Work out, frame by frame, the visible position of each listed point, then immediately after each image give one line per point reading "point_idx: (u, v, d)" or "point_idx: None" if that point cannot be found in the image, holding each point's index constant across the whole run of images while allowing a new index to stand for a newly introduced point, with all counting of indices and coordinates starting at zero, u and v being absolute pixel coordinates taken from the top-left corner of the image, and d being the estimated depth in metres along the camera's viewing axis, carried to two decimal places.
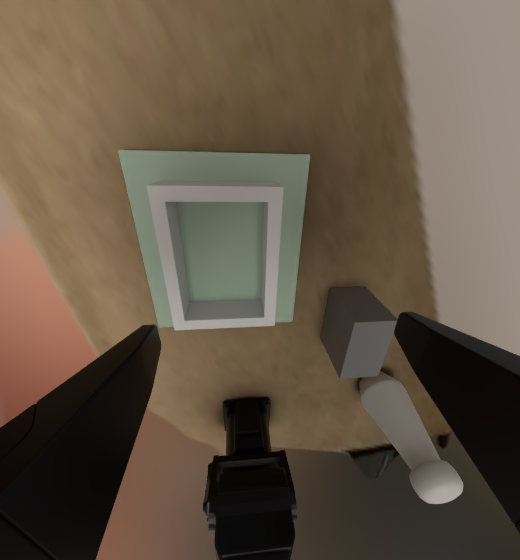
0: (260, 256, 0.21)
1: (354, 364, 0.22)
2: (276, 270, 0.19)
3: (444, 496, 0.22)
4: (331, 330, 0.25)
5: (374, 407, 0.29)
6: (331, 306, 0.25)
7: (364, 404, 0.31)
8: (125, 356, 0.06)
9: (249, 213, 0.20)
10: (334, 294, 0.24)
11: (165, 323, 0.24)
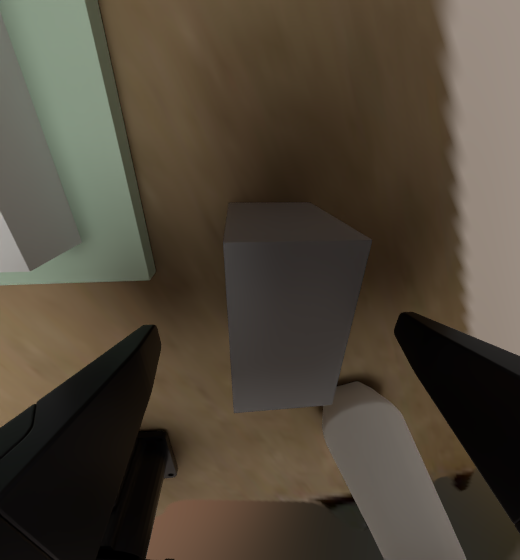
0: None
1: (263, 377, 0.08)
2: None
3: None
4: None
5: (342, 455, 0.15)
6: None
7: (328, 445, 0.17)
8: (125, 356, 0.06)
9: None
10: (228, 209, 0.10)
11: None
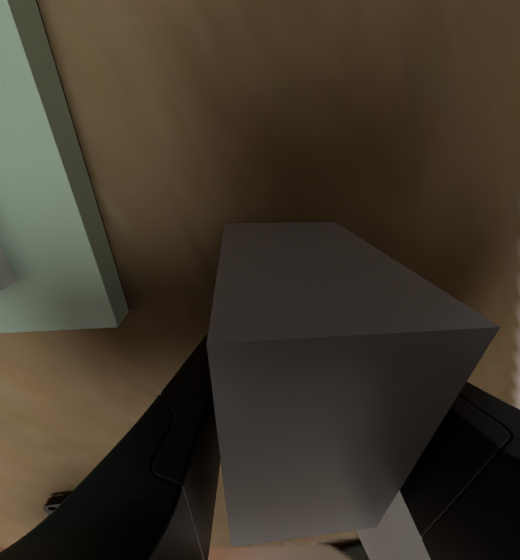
0: None
1: (277, 510, 0.05)
2: None
3: None
4: None
5: (369, 534, 0.12)
6: None
7: None
8: None
9: None
10: (224, 236, 0.07)
11: None
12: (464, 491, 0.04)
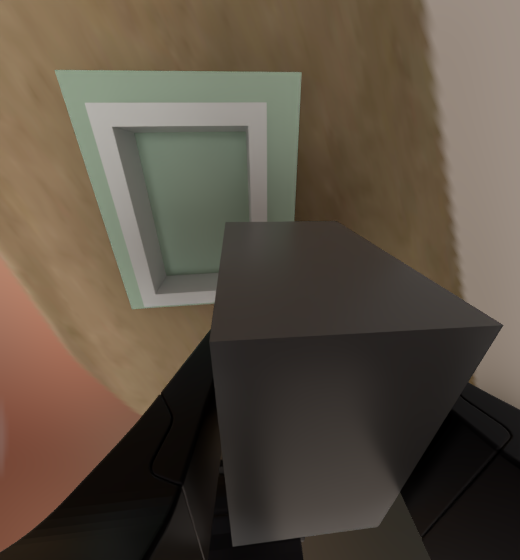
0: (247, 214, 0.18)
1: (279, 509, 0.05)
2: None
3: None
4: None
5: None
6: None
7: None
8: None
9: (229, 156, 0.16)
10: None
11: (139, 303, 0.20)
12: (464, 491, 0.04)
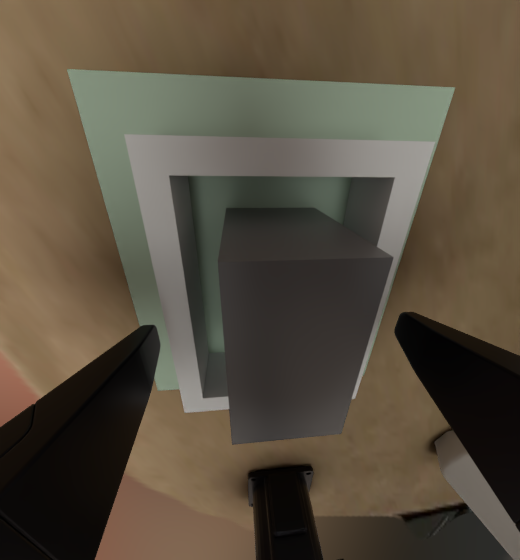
0: None
1: (265, 407, 0.07)
2: (378, 312, 0.10)
3: None
4: None
5: (472, 491, 0.20)
6: None
7: (450, 480, 0.22)
8: (124, 356, 0.06)
9: (321, 205, 0.11)
10: (226, 216, 0.09)
11: (168, 384, 0.15)
12: None
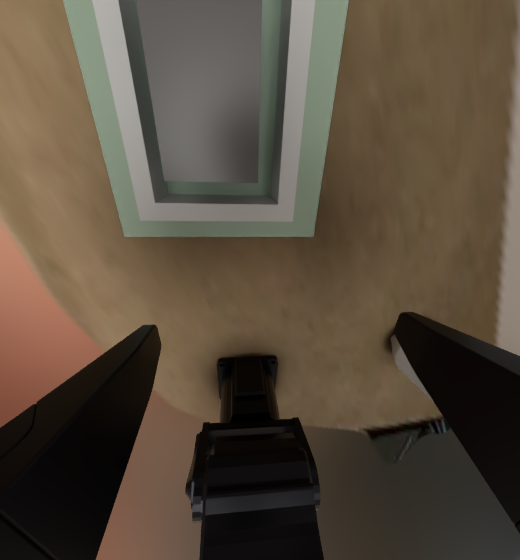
0: (272, 114, 0.14)
1: (186, 128, 0.09)
2: (301, 108, 0.12)
3: None
4: None
5: None
6: None
7: (399, 363, 0.24)
8: (125, 356, 0.06)
9: None
10: None
11: (133, 230, 0.17)
12: None
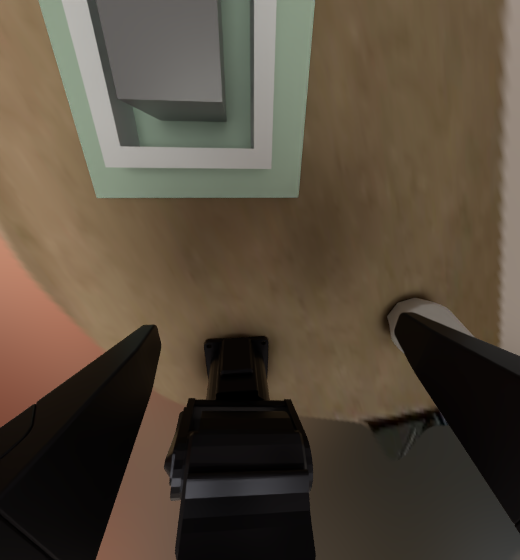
0: (247, 56, 0.13)
1: (136, 31, 0.08)
2: (272, 32, 0.11)
3: None
4: None
5: None
6: None
7: None
8: (125, 356, 0.06)
9: None
10: None
11: (106, 190, 0.16)
12: None
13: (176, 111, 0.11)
